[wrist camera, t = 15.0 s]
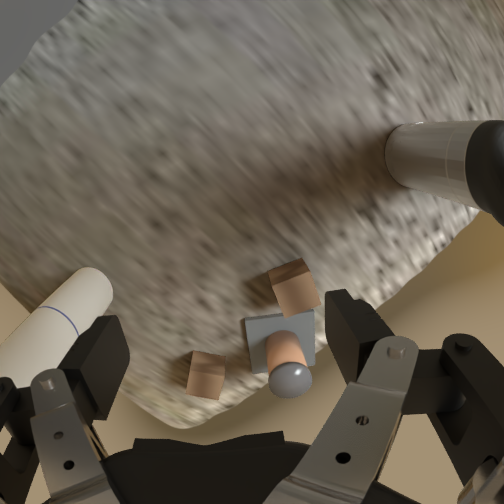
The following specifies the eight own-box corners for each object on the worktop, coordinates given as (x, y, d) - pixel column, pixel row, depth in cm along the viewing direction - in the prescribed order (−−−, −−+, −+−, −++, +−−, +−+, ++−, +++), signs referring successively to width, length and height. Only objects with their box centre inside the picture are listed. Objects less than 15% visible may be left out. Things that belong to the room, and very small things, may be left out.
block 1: (225, 356, 48) (224, 376, 43) (219, 379, 49) (218, 400, 44) (193, 350, 47) (190, 370, 42) (188, 373, 49) (185, 394, 44)
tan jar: (298, 326, 46) (311, 362, 37) (301, 355, 47) (313, 394, 39) (261, 332, 46) (266, 370, 37) (266, 361, 47) (271, 401, 39)
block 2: (301, 257, 43) (310, 271, 39) (312, 288, 45) (321, 304, 40) (267, 270, 44) (271, 286, 39) (279, 301, 45) (284, 318, 41)
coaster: (312, 308, 46) (314, 311, 45) (313, 361, 49) (315, 364, 48) (244, 318, 46) (244, 320, 45) (252, 370, 49) (252, 373, 48)
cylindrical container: (121, 303, 44) (48, 427, 20) (85, 316, 44) (7, 429, 21) (99, 260, 42) (-2, 364, 18) (63, 276, 42) (-36, 374, 18)
